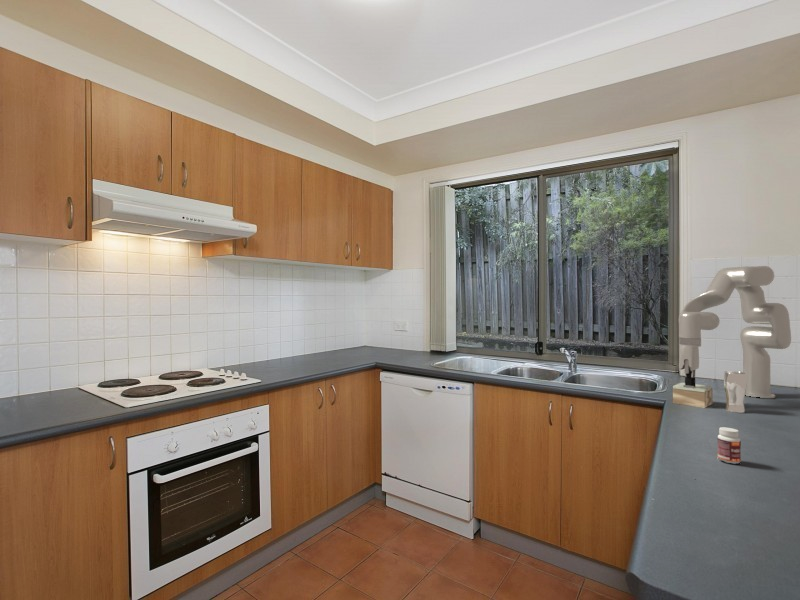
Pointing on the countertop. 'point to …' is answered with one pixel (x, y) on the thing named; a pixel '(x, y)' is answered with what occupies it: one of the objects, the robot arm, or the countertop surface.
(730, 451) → the pill bottle
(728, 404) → the beer glass
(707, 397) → the light wooden box
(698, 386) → the box lid
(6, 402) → the countertop surface
